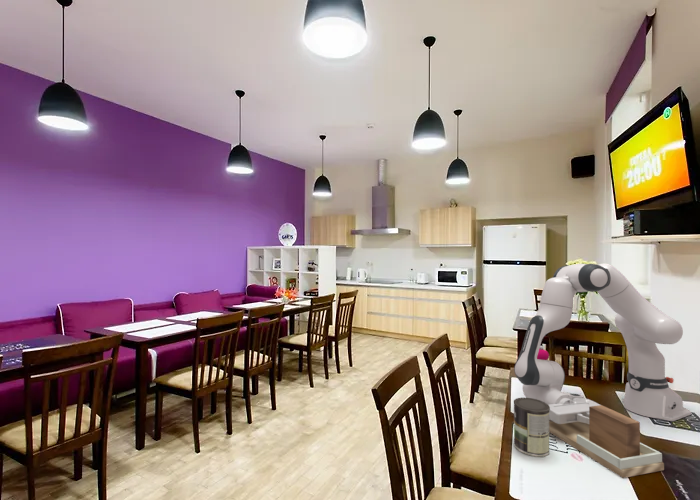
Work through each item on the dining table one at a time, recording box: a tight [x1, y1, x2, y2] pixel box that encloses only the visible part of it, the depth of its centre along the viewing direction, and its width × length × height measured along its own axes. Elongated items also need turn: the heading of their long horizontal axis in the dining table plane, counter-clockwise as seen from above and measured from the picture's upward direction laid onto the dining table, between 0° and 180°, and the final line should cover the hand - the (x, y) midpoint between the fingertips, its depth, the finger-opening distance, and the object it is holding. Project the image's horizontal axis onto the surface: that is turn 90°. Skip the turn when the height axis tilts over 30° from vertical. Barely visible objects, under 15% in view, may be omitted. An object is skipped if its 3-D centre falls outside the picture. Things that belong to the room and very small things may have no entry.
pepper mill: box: [537, 345, 550, 360], centre depth 163 cm, size 7×7×20 cm
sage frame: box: [577, 435, 663, 470], centre depth 109 cm, size 15×14×2 cm
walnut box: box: [589, 404, 641, 459], centre depth 110 cm, size 5×12×11 cm, turn 14°
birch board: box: [549, 420, 665, 479], centre depth 115 cm, size 15×29×2 cm, turn 14°
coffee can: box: [513, 397, 550, 458], centre depth 115 cm, size 10×10×14 cm
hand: (595, 422), depth 116 cm, fingers closed, pressing on walnut box
